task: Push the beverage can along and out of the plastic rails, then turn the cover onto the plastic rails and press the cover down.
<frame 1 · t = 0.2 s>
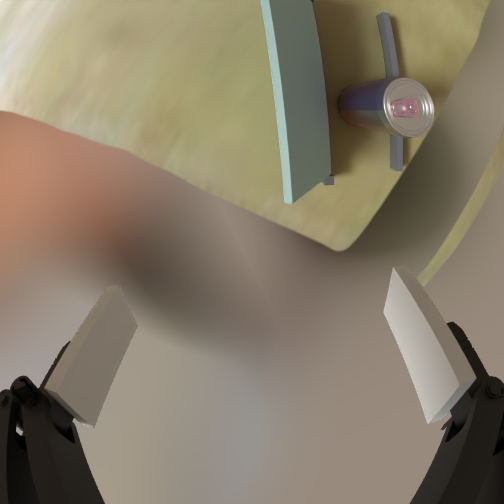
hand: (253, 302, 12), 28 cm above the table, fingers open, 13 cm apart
beverage can: (357, 106, 31), on the table
cover: (303, 78, 23), point 8 cm above the table, hinge at 120.0°
plastic rails: (355, 85, 29), on the table
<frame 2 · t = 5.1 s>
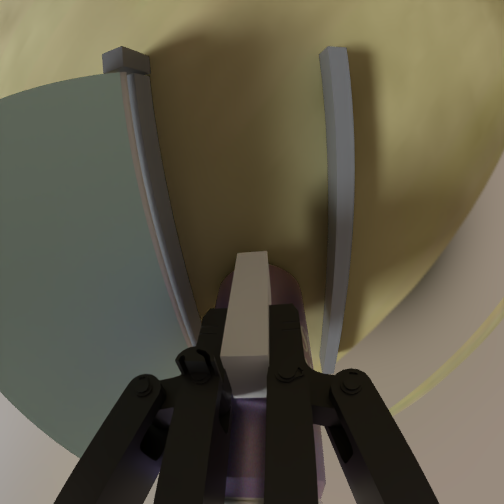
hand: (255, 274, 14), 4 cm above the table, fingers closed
beverage can: (260, 291, 20), on the table
cover: (85, 331, 12), point 8 cm above the table, hinge at 120.0°
plastic rails: (253, 245, 18), on the table
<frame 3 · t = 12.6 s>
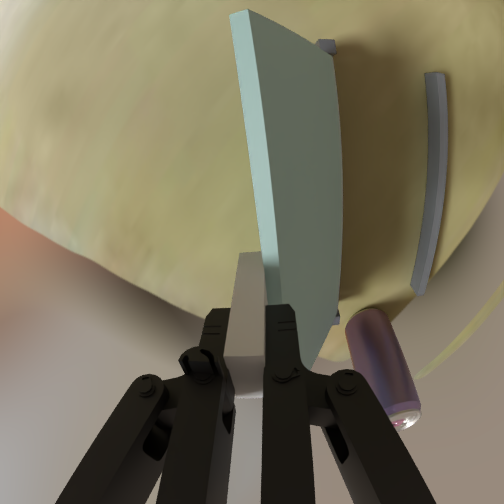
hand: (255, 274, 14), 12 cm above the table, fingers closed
beverage can: (365, 321, 32), on the table
cover: (315, 232, 17), point 8 cm above the table, hinge at 116.5°, touching gripper
plastic rails: (384, 189, 23), on the table
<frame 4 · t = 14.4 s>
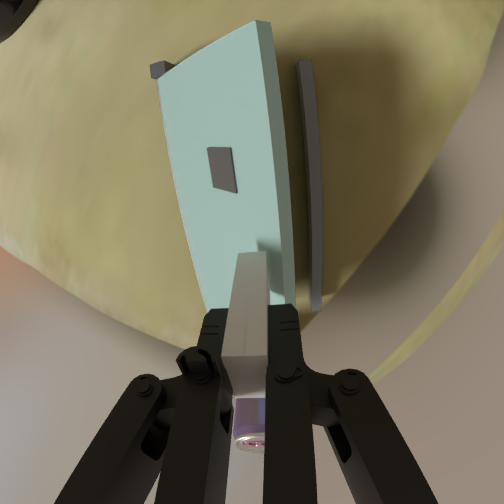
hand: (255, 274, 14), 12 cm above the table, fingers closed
beverage can: (266, 333, 33), on the table
cover: (222, 238, 18), point 8 cm above the table, hinge at 49.6°, touching gripper
plastic rails: (252, 199, 25), on the table
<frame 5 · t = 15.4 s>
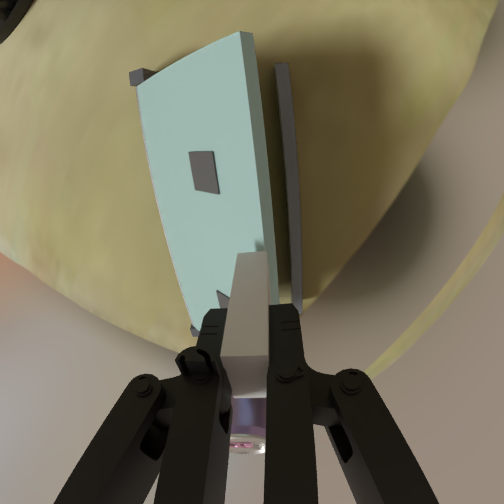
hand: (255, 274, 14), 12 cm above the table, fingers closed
beverage can: (250, 335, 33), on the table
cover: (203, 238, 19), point 7 cm above the table, hinge at 43.2°, touching gripper
plastic rails: (232, 203, 25), on the table
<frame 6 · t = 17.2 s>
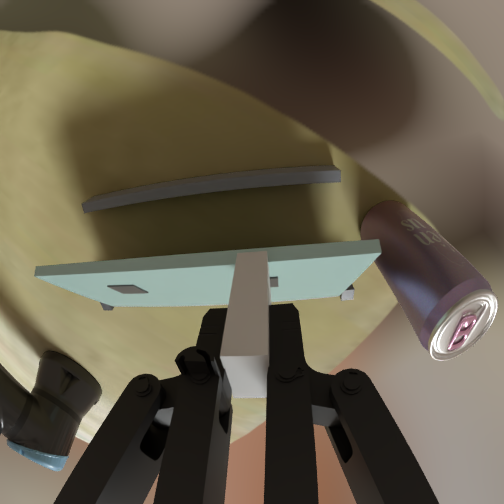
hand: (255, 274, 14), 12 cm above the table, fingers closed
beverage can: (384, 225, 25), on the table
cover: (197, 288, 21), point 7 cm above the table, hinge at 40.9°, touching gripper
plastic rails: (209, 236, 26), on the table
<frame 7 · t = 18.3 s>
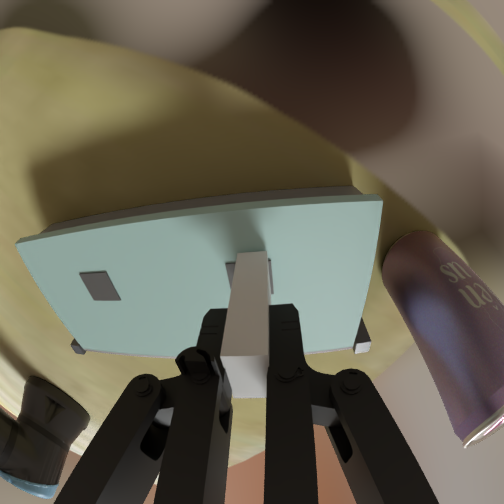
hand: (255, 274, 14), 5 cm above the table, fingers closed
beverage can: (409, 259, 19), on the table
cover: (177, 304, 17), point 4 cm above the table, hinge at 6.8°, touching gripper
plastic rails: (190, 276, 20), on the table
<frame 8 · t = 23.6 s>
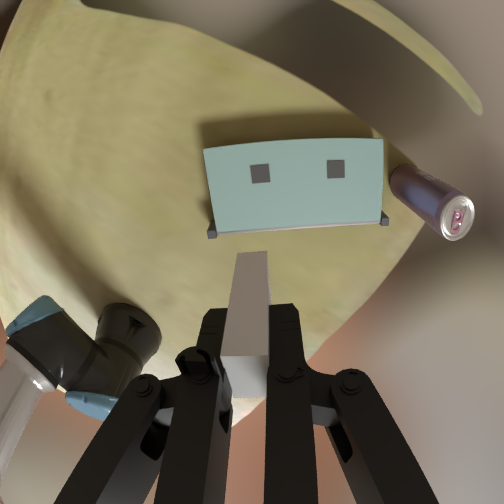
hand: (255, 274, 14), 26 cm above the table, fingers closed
beverage can: (403, 181, 37), on the table
cover: (299, 185, 35), point 3 cm above the table, hinge at 0.0°
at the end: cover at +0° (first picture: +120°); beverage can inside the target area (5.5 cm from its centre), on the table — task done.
